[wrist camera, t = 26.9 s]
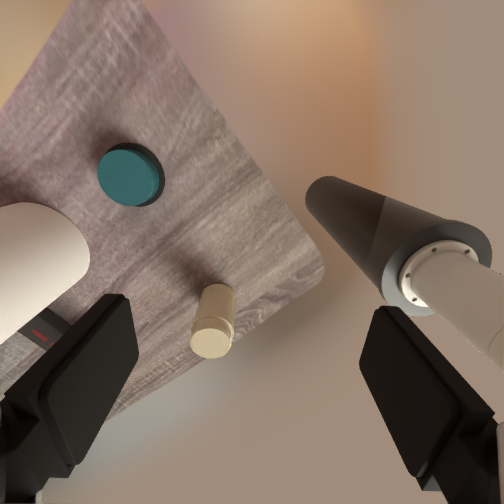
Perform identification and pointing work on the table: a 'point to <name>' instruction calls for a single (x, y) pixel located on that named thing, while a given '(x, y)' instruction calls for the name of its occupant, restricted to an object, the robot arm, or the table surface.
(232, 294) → the jar
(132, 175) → the jar lid
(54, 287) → the canister
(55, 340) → the usb drive
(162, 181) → the coaster
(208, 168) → the table surface
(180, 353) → the table surface
